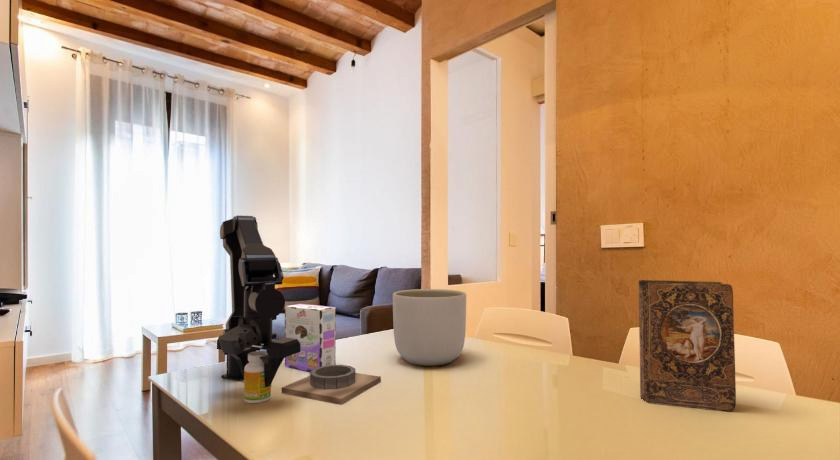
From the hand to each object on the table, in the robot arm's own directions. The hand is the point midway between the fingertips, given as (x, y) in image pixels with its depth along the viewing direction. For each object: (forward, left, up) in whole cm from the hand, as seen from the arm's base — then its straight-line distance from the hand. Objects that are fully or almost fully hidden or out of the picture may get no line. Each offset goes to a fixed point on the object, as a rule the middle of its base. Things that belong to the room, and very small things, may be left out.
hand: (257, 384), depth 92 cm
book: (+82, +36, -3) cm, 90 cm away
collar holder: (+10, +13, -3) cm, 17 cm away
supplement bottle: (0, 0, -3) cm, 3 cm away
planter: (+21, +43, -3) cm, 48 cm away
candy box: (-5, +23, -3) cm, 24 cm away
